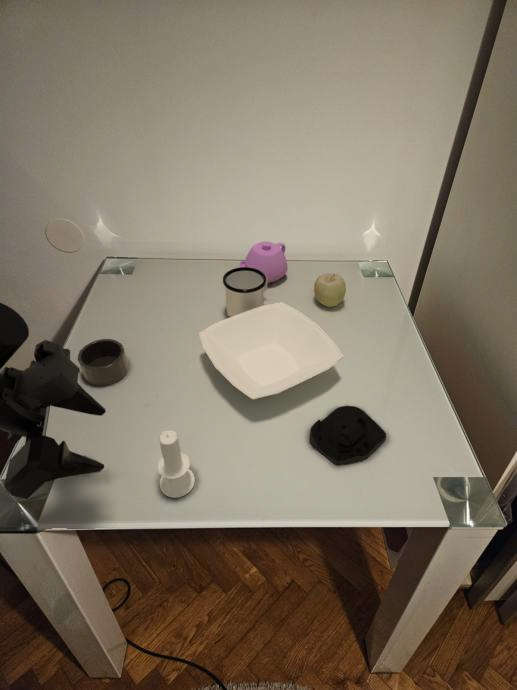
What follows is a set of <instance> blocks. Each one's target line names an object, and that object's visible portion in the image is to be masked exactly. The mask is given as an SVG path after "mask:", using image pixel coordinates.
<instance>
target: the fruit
mask: <svg viewBox="0 0 517 690" xmlns="http://www.w3.org/2000/svg"><path fill="white" fill-rule="evenodd" d="M313 288H314V289H313V291H314V295H315V297H316V300H317V301H318V302H319V303H320V304H321V305H322V306H325V307H330V308H332V307H336V306H338V305H339V304H340V303H342V302H343V300H344V299H345V296H346V292H347V291H346V290H347V287H346V282H345V280H344V278H343V277H342V276H341V275H339V274H337V273H323V274H321V275H319V276H318V277H317V278H316V280H315V281H314V285H313Z"/></svg>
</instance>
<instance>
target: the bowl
mask: <svg viewBox="0 0 517 690" xmlns="http://www.w3.org/2000/svg"><path fill="white" fill-rule="evenodd" d="M198 338H199V341H200V343H201V346H202V348H203V350H204V353H205V354H206V356H207V357H208V358H209V360H210V362H211V363H212V365H213V366H214V368H215V369H216V370H217V371H218V372H219V373H220V375H222V376H223V377H224V378H225V379H226V380H227V382H229V384H231V385H232V386H233V387H234V388H236V389H237V390H238V391H240V392H241V393H242V394H244V395H245V396H246V397H248V398H249V399H250V400H257V399H258V400H259V399H262V398H266V397H270V396H274V395H278V394H280V393H282V392H285V391H287V390H289V389H291V388H293V387H295V386H298V385H299V384H302V383H304V382H306V381H308V380H310V379H312V378H314V377H316V376H318V375H320V374H322V373H324V372H326V371H329V370H331V368H332V367H334V366H335V365H336V364H337V363H338V362H340V360H342V359H343V358H344V354H343V353H342V351H341V350H340V349H339V347H338V346H337V344H336V342H335V341H334V340H333V339H332V338H331V337H330V335H328V334H327V333H326V331H324V330H323V329H322V328H321V327H320V326H319V325H318V324H317V323H316V322H315V321H313V320H312V319H311V318H309V317H308V316H307V315H305V314H304V313H302V312H301V311H300V310H298V309H296V308H294V307H293V306H290V305H288V304H287V303H285V302H283V301H280V302H273V303H269V304H263V306H260V307H257V308H254V309H252V310H249V311H246V312H243V313H240V314H238V315H235V316H233V317H228V318H225V319H222V320H220V321H216V322H215V323H213V324H211V325H210V326H208V327H207V328H205V329H203V330H201V331H200V332H198Z"/></svg>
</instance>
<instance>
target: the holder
mask: <svg viewBox="0 0 517 690" xmlns="http://www.w3.org/2000/svg"><path fill="white" fill-rule="evenodd" d="M77 362H78V365H79V368H80V371H81V373H82V375H83V378H84V379H85V381H86V382H87V383H88V384H90V385H93V386H98V387H103V386H104V387H106V386H110V385H114V384H116V383H117V382H120V381H121V380H122V379H123V378H124V377H125V376H126V375H127V374H128V371H129V361H128V359H127V354H126V350H125V347H124V346H123V344H122V342H120V341H118V340H115V339H113V338H102V339H96V340H93V341H91V342H89V343H88V344H85V345H84V346H83V347H82V348H81V349H80V350H79V352H78V354H77Z"/></svg>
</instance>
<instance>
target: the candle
mask: <svg viewBox="0 0 517 690" xmlns="http://www.w3.org/2000/svg"><path fill="white" fill-rule="evenodd" d="M159 446H160V451H161V454H162V456H161V457H160V458H159V460H158V462H157V471H158V473H159V475H160V476H161V477H160V479H159V488H160V490H161V491H162V493H163V494H164V495H165V496H167V497H169V498H181V497H184V496H186V495H187V494H189V493H190V492H191V491H192V490H193V488H194V487H195V486H194V485H195V482H196V477H195V474H194V472H193V471H192V470H191V469H190V467H191V461H190V457H189V456H188V455H187V454H186V453H185V452H182V451H181V446H180V440H179V438H178V434H177V432H176V431H175V430H163V431H162V433H161V434H160V436H159Z"/></svg>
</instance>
